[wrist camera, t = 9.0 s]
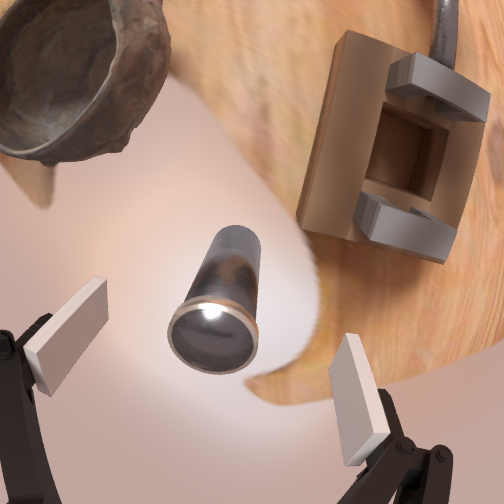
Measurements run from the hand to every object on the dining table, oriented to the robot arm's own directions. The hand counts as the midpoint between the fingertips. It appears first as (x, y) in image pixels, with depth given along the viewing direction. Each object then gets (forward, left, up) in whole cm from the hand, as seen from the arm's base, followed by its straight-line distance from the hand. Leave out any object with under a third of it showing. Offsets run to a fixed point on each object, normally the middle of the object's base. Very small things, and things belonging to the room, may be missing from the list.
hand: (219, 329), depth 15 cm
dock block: (+10, +11, -11) cm, 18 cm away
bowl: (-14, +13, -11) cm, 22 cm away
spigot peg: (0, 0, -11) cm, 11 cm away
